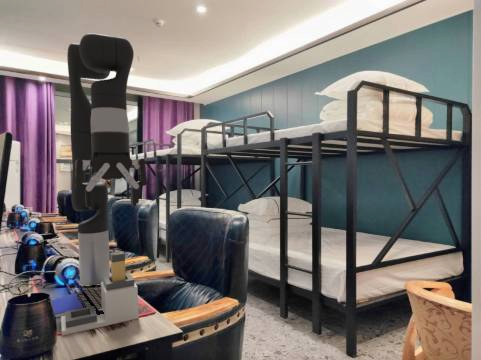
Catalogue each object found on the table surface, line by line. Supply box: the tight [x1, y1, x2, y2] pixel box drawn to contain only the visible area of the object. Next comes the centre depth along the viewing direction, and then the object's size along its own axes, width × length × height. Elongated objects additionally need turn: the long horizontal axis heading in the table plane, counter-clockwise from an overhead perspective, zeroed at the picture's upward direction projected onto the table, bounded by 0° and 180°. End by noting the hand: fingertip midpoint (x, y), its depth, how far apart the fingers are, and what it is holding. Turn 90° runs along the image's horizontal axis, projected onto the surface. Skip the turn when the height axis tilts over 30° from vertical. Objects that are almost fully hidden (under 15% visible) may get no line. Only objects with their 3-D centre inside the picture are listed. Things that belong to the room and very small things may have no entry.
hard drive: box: [50, 293, 83, 318], centre depth 94 cm, size 2×8×12 cm
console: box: [60, 272, 140, 336], centre depth 85 cm, size 9×17×10 cm, turn 118°
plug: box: [109, 250, 126, 282], centre depth 87 cm, size 3×3×8 cm
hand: (113, 207), depth 73 cm, fingers open, 8 cm apart
